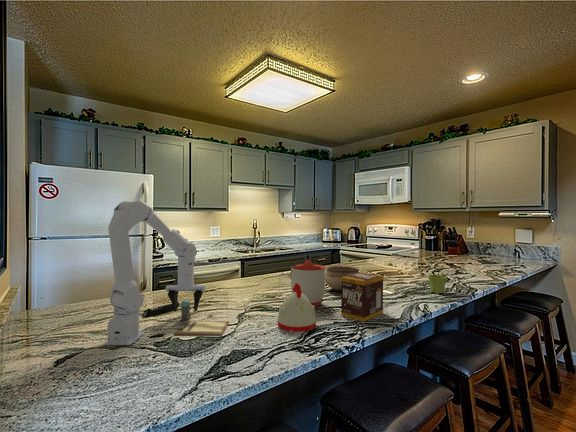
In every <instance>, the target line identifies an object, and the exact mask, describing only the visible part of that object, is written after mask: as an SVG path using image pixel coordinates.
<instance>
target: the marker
mask: <svg viewBox="0 0 576 432" xmlns="http://www.w3.org/2000/svg"><path fill="white" fill-rule="evenodd" d="M180 304H181V305H180V309H181V311H180V313H181V314H180V315H181V316H180V317H181V319H180V320H181V322H185V321H191V320H190V318H191V311H190V310H191V308H190V307H191V301H190V300H187V299H185V300H182V301H181V303H180Z"/></svg>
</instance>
